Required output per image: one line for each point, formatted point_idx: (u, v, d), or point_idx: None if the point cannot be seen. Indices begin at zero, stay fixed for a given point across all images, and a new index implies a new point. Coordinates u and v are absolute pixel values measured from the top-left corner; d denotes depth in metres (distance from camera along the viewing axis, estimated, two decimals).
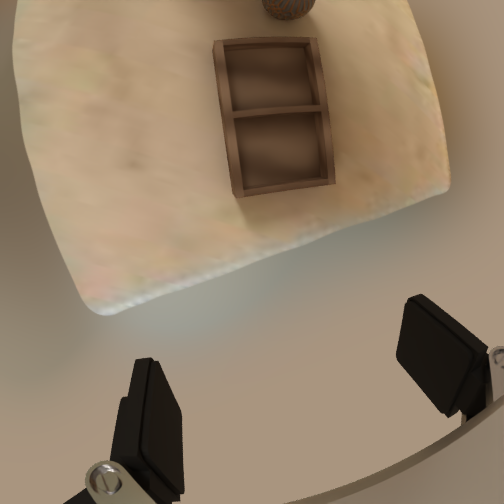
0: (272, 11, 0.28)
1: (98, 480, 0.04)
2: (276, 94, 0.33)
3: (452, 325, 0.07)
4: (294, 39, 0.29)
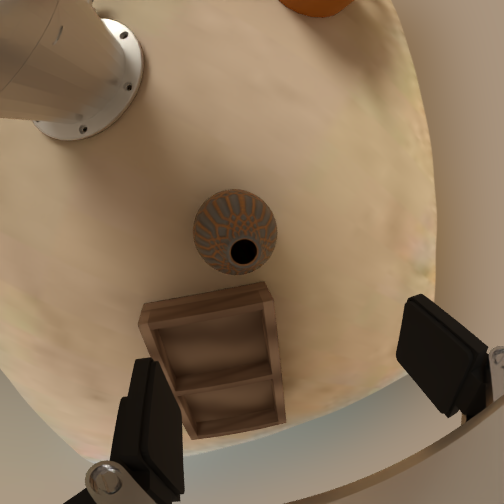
0: None
1: (98, 480, 0.04)
2: (224, 355, 0.31)
3: (452, 325, 0.07)
4: (241, 310, 0.27)
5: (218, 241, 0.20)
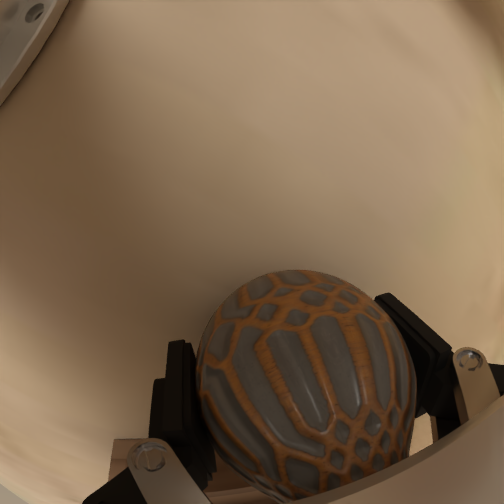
0: None
1: (140, 458, 0.05)
2: (251, 493, 0.16)
3: (416, 324, 0.08)
4: None
5: (284, 489, 0.05)
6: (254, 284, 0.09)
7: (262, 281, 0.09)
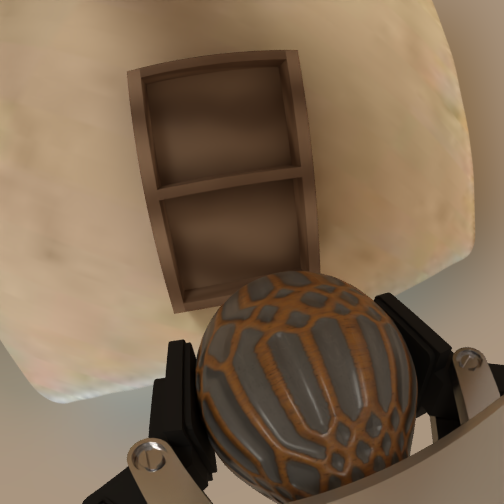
0: None
1: (141, 458, 0.05)
2: (233, 147, 0.23)
3: (416, 324, 0.08)
4: (259, 55, 0.18)
5: (284, 491, 0.05)
6: (254, 285, 0.09)
7: (262, 282, 0.09)
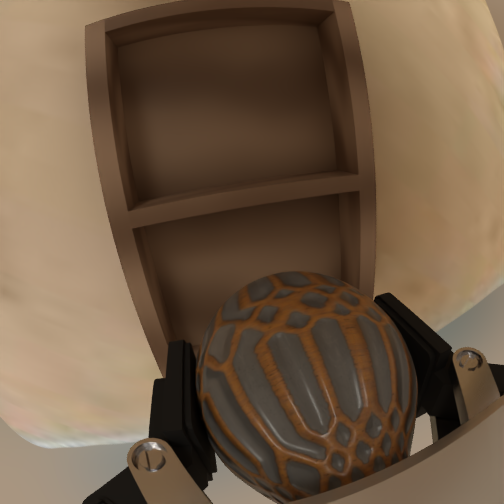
0: None
1: (141, 458, 0.05)
2: (250, 141, 0.14)
3: (416, 324, 0.08)
4: (294, 1, 0.10)
5: (284, 491, 0.05)
6: (254, 286, 0.09)
7: (262, 283, 0.09)
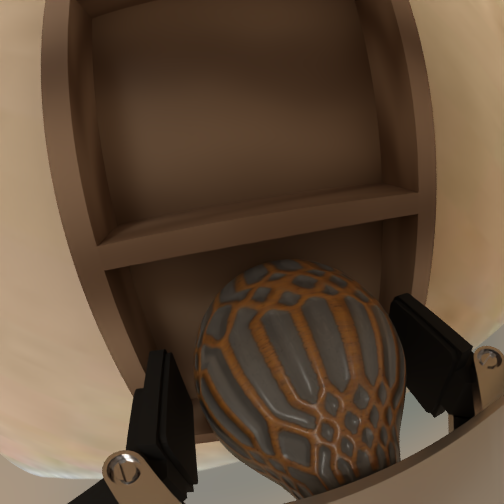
0: None
1: (115, 470, 0.05)
2: (272, 141, 0.10)
3: (436, 324, 0.08)
4: None
5: (277, 463, 0.05)
6: (250, 271, 0.09)
7: (258, 268, 0.09)
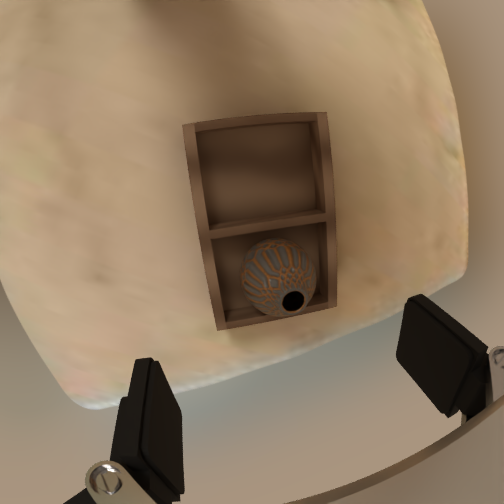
0: None
1: (98, 480, 0.04)
2: (269, 194, 0.28)
3: (452, 325, 0.07)
4: (295, 116, 0.24)
5: (269, 291, 0.23)
6: (261, 241, 0.27)
7: (263, 240, 0.27)
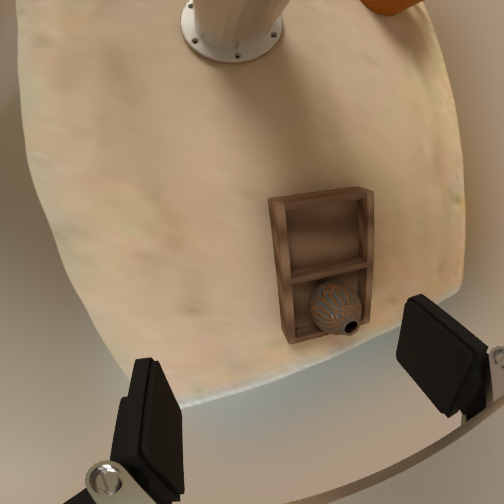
0: None
1: (98, 480, 0.04)
2: (328, 248, 0.39)
3: (452, 325, 0.07)
4: (353, 196, 0.34)
5: (336, 321, 0.34)
6: (324, 283, 0.38)
7: (326, 282, 0.38)
